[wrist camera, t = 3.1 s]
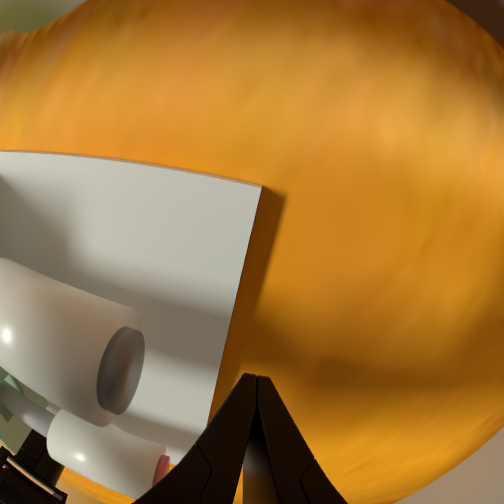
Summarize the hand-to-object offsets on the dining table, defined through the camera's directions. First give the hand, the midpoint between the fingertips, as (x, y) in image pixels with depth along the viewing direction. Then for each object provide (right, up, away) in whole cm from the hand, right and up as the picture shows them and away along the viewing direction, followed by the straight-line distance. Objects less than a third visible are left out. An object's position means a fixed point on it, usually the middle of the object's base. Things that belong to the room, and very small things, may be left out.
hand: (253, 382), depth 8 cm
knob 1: (-10, +3, +1) cm, 10 cm away
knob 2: (-11, -6, +4) cm, 13 cm away
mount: (-12, 0, +4) cm, 12 cm away
